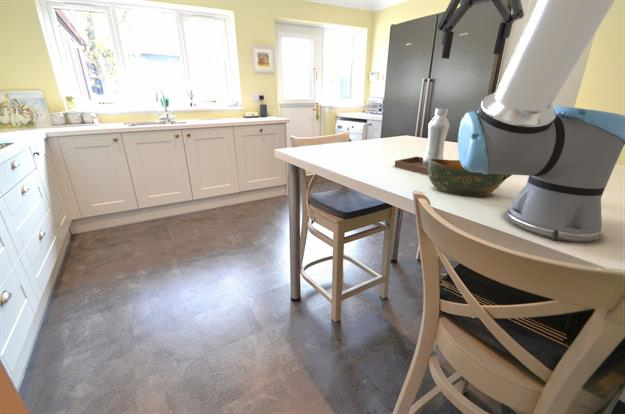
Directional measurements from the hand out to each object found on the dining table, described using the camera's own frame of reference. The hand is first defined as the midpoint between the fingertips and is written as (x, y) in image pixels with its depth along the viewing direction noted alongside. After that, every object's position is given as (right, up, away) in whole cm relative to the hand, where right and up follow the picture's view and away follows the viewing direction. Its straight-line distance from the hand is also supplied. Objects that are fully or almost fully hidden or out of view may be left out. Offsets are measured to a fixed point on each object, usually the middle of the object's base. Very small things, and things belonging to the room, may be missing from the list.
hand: (469, 56), depth 75 cm
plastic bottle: (0, -26, +25) cm, 37 cm away
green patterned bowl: (+1, -36, +4) cm, 36 cm away
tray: (0, -27, +26) cm, 37 cm away
